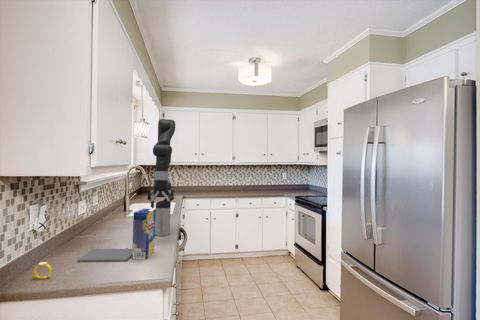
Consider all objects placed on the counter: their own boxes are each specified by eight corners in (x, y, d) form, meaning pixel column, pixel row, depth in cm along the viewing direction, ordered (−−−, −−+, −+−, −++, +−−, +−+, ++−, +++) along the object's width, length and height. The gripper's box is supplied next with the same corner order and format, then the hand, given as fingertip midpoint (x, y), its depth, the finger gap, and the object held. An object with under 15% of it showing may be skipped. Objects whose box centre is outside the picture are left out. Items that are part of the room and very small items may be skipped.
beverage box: (154, 252, 143) (155, 209, 143) (146, 259, 132) (147, 213, 132) (141, 251, 144) (142, 208, 144) (131, 258, 133) (133, 212, 133)
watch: (32, 280, 108) (31, 265, 108) (37, 277, 111) (36, 262, 111) (49, 278, 109) (48, 263, 109) (53, 275, 112) (52, 261, 112)
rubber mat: (92, 250, 143) (92, 248, 143) (136, 250, 145) (137, 248, 145) (77, 262, 127) (77, 259, 127) (127, 261, 129) (127, 259, 129)
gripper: (175, 179, 164) (174, 207, 163) (150, 179, 163) (149, 207, 162) (173, 179, 157) (172, 208, 156) (147, 179, 156) (145, 208, 154)
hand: (160, 208), depth 159 cm, fingers open, 8 cm apart
